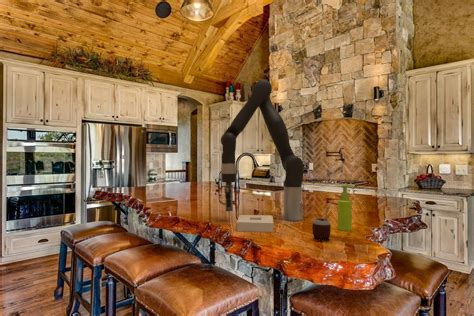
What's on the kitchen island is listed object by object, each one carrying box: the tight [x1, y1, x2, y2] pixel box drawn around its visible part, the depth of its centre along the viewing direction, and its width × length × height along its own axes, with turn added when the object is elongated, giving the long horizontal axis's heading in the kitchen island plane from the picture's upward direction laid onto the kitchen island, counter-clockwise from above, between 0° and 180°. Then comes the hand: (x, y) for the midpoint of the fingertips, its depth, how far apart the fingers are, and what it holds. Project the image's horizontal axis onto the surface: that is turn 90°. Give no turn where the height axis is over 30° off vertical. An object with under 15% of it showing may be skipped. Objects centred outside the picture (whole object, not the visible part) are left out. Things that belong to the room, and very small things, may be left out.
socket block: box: [236, 214, 274, 233], centre depth 137 cm, size 16×16×4 cm
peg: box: [225, 194, 234, 212], centre depth 149 cm, size 4×4×8 cm
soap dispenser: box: [337, 185, 355, 232], centre depth 133 cm, size 6×7×20 cm
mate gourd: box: [311, 201, 333, 243], centre depth 118 cm, size 8×8×15 cm
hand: (229, 206), depth 149 cm, fingers closed on peg, 3 cm apart
